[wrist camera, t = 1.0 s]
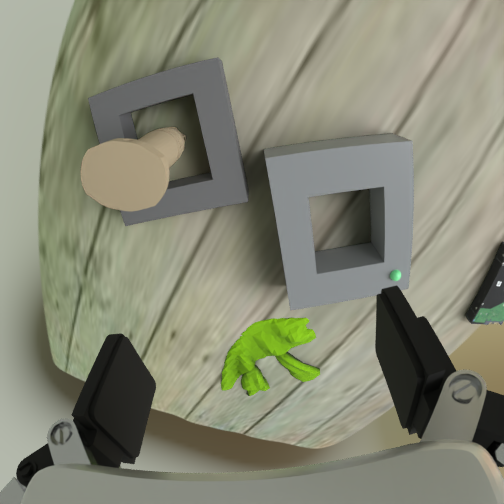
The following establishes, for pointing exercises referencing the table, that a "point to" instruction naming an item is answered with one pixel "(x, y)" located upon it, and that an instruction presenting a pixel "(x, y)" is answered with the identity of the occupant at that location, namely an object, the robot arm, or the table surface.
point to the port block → (335, 181)
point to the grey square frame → (212, 125)
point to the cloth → (267, 353)
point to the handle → (131, 169)
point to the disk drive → (490, 295)
